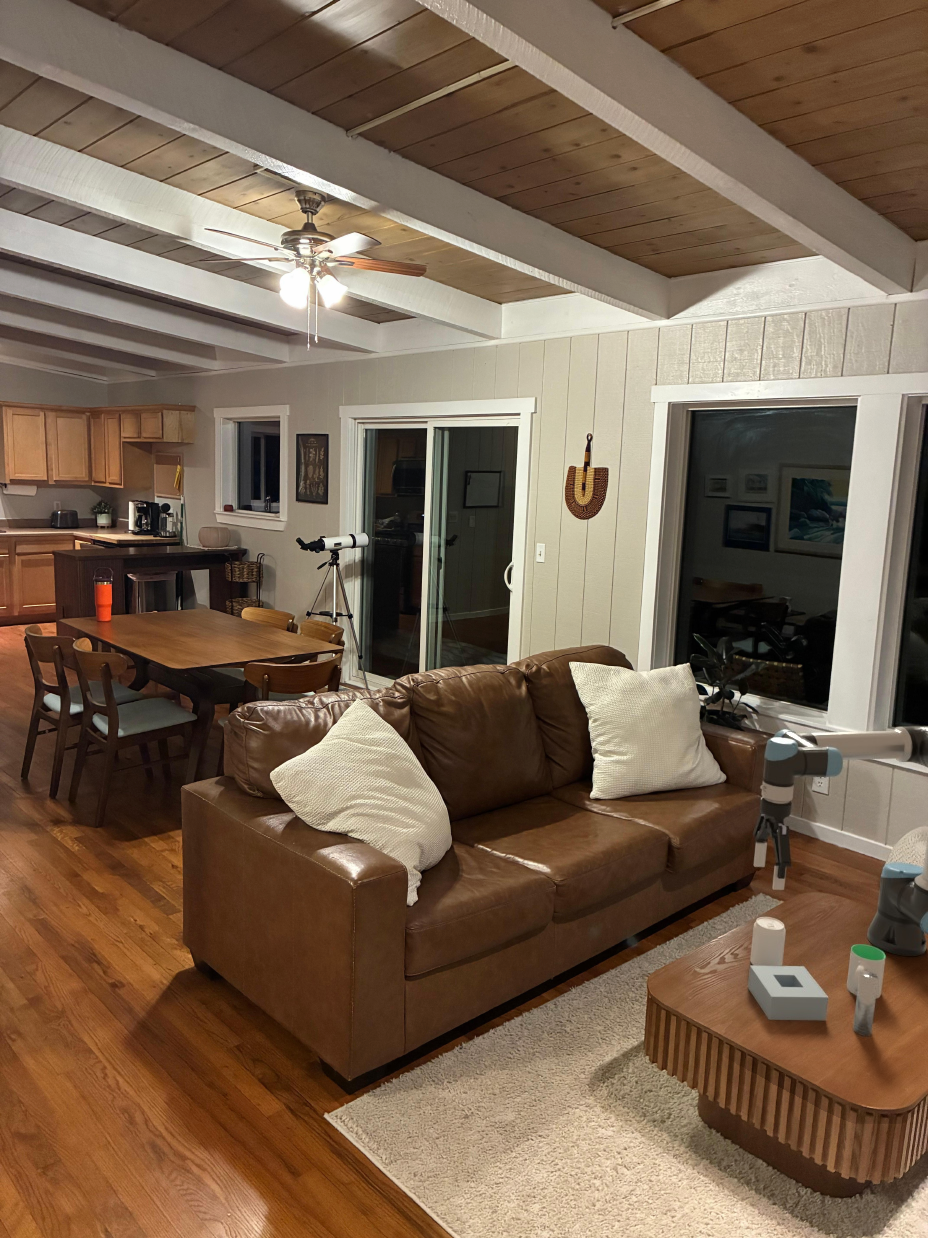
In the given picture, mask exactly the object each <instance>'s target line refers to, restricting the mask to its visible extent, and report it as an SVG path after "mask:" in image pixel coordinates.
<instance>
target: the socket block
mask: <svg viewBox="0 0 928 1238" xmlns="http://www.w3.org/2000/svg"><path fill="white" fill-rule="evenodd" d="M748 972H749V973H748V980H747V981H748V982H747V989H748V990H749V991H750V993H751V994H752V996H753V997H754V999H755V1000H756V1002H757V1004H758V1005H759V1006H760V1008H761V1010H762V1011H763V1013H764V1014H765V1016H766V1017H767V1019H768V1020H770V1021H775V1020H776V1021H778V1020H779V1021H827V1013H828V1003H829V996H828V994H827V993H825V991H824V989H823V988H822V987H821V986H820V984H819V983H818V982H817V981H816V980H815V978H814V977H813V976H812V975H811V974H810V972H809V971H808V969H807V968H806V967H805V966H804V965H801V966H798V965H797V966H796V965H782V966H754V965H749V971H748Z"/></svg>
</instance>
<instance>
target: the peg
mask: <svg viewBox="0 0 928 1238" xmlns="http://www.w3.org/2000/svg"><path fill="white" fill-rule="evenodd" d="M877 984H878V976H877V975H875V974H873V973H871V972H867V971H863V972H860V975H859V983H858V991H857V995H856V1002H855V1009H854V1017H853V1027H852V1030H853V1031H854V1032H855V1033H856V1034H858V1035H860V1036H862V1037H863V1036H864V1037H869V1036H871V1035H872V1031H873V1024H874V1016H875V1015H874V1014H875V1005H876V1001H877V998H876V992H877Z"/></svg>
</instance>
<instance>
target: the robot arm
mask: <svg viewBox="0 0 928 1238" xmlns="http://www.w3.org/2000/svg"><path fill="white" fill-rule="evenodd" d="M892 759H896V761H898V762H899V763H913V764H918V765H920V766H923V767H925V768H928V725H914V726H913V725H912V726H911V725H910V726H896V727H895V728H893V729H892V730H875V731H874V730H873V731H872V730H871V731H840V732H834V731H833V732H796V731H794V730H790V729H781V730H779V731H777V732H776V733H775V734H774V735H773V737H772V738H769V739H768V740H767V742H766V746H765V751H764V762H763V763H764V764H763V775H762V784H761V785H760V787H759V788H760V790H761V794H760V795H761V797H760V803H759V814H758V818H757V821H756V823H755V827H754V828H753V831H752V837H755V838H754V840H755V847H754V858H753V866H754V867H755V868H758V867H759V868H765V866H766V857H767V848H768V847H767V846H768V844H767V843H768V842H769V841H768V840H769V838H770V839H771V840H772V843H773V844H772V845H773V850H774V855H775V861H776V862H774V863H773V865H774V868H773V869H774V870H773V877H772V890H773V891H777V890H778V891H784V890H785V885H786V884H785V883H786V877H787V876H786V873H787V867H788V868H790V867H792V857H791V849H790V848H791V844H790V826H789V825H785V823H784V822H785V821H784V820H785V819H786V818H789V817H790V816H791V813H792V807H793V806H792V803H793V802H792V801H793V797H794V786H795V779H796V778H830V777H832V778H835V777H837V776H839V775H840V774H841V773H842V771H843V766H844V761H849V760H850V761H852V760H853V761H854V760H855V761H856V760H858V761H859V760H892ZM925 847H926V848H925V852H924V857H923V858H924V860H923V865H922V866H920V865H917V864H913V863H907V862H888V863H885V865H884V866H883V867H882V872H881V875H880V884H879V892H878V893H879V894H878V901H877V902H878V903H877V911H876V913H875V915H874V917H873V919H872V921H871V923H870V924H869V926H868V929H867V935H866V936H867V940H868V941H869V942H870V943H871V945H873V946H874V947H875V948H878V949H880V950H881V951H883V952H884V951H885V952H887V953H890V954H894V955H898V956H904V957H917V956H921V955H924V954H925V953H926V951H927V939H926V934H927V935H928V838H927V840H926V846H925Z"/></svg>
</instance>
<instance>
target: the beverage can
mask: <svg viewBox="0 0 928 1238" xmlns="http://www.w3.org/2000/svg"><path fill="white" fill-rule="evenodd" d="M786 932H787V931H786V928H785V924H784V922H782V921H781V920H779V919H777V918H775V917H770V916H760V917H758V918H756V921H755V922H754V923H753V929H752V939H751V950H750V957H749V959H750V962H751V964H752V966H783V961H784V950H785V942H786Z"/></svg>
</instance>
